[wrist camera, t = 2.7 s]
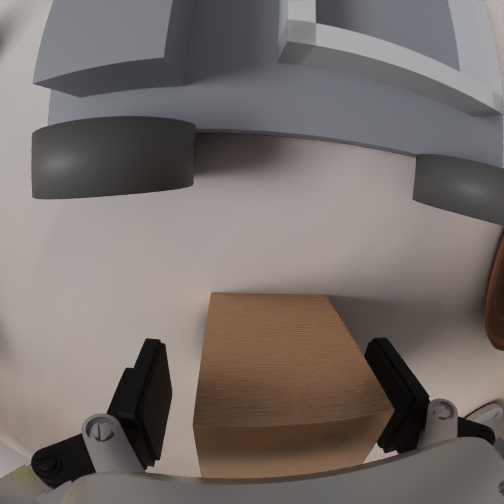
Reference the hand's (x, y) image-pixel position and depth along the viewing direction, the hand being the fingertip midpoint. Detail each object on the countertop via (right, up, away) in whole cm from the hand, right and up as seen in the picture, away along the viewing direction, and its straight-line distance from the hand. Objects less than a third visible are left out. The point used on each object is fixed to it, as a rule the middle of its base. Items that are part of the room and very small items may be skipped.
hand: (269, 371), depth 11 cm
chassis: (+2, +16, -3) cm, 16 cm away
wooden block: (0, +1, +2) cm, 2 cm away
